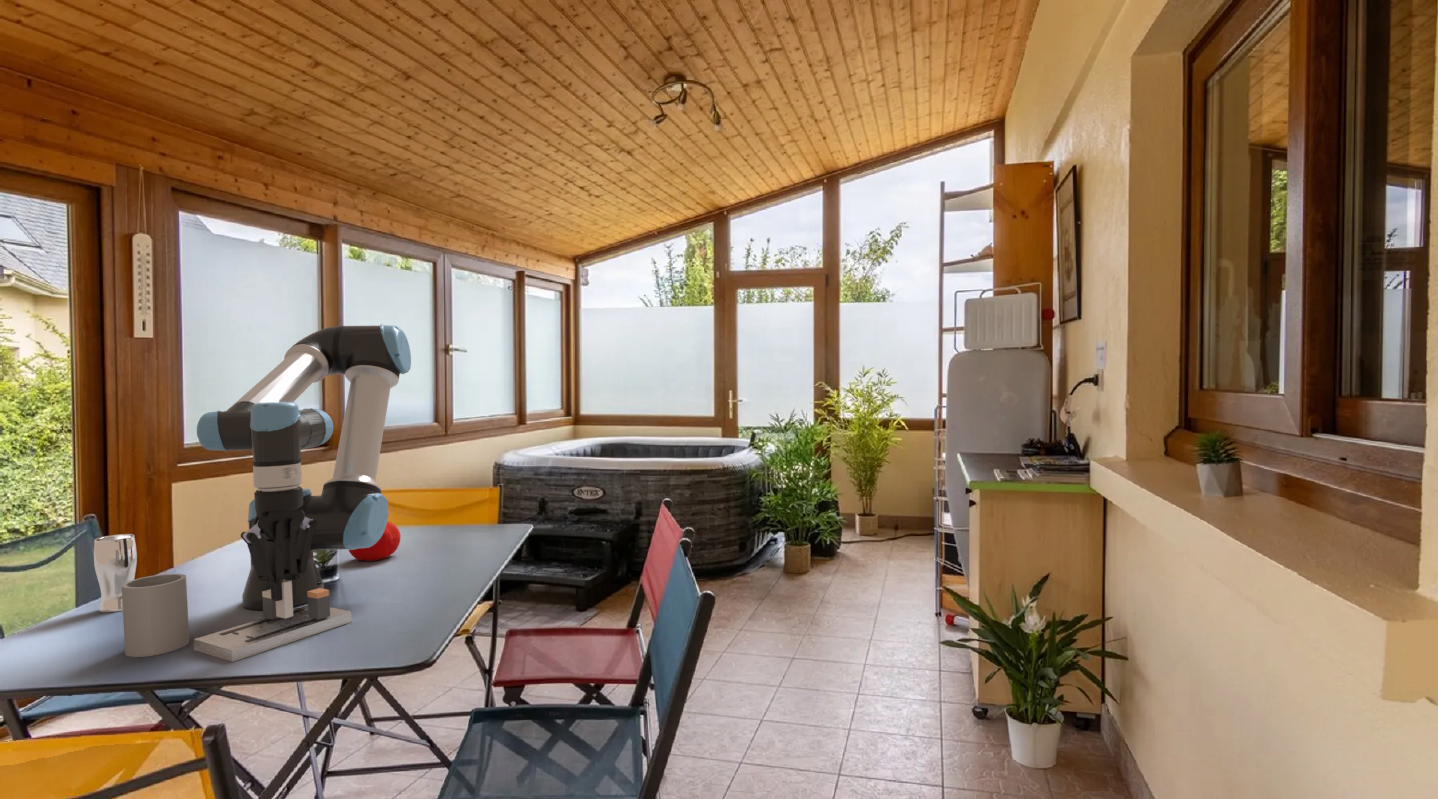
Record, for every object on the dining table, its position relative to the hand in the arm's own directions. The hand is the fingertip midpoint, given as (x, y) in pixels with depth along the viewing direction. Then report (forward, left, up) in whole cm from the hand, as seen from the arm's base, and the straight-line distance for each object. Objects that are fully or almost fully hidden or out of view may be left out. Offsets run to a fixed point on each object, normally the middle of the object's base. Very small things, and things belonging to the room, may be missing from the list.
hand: (284, 616), depth 135 cm
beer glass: (-52, -4, -5) cm, 52 cm away
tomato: (-38, +47, -5) cm, 60 cm away
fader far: (-8, +3, -2) cm, 9 cm away
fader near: (0, +6, -2) cm, 7 cm away
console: (-4, +1, -4) cm, 6 cm away
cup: (-18, -12, -5) cm, 22 cm away
